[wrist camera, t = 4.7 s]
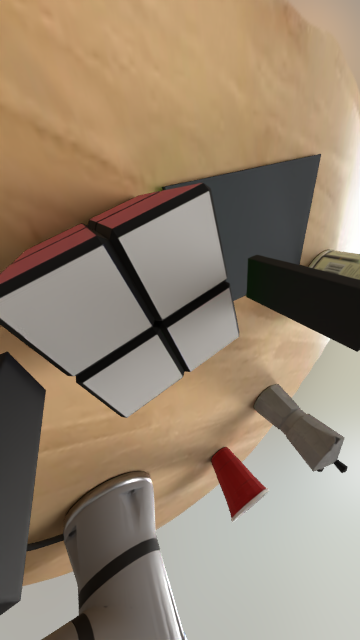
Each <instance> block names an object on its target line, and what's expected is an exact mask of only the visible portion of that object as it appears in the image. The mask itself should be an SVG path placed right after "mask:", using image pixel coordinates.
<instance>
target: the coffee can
mask: <svg viewBox="0 0 360 640" xmlns="http://www.w3.org/2000/svg"><path fill="white" fill-rule="evenodd" d="M309 267H310V268H314V269H318V270H322V271H326V272H330V273H335V274H339V275H343V276H347V277H351V278H355V279H359V280H360V254H354V253H347V252H340V251H334V250H326V251H324V252H322V253H321V254H319V255H318V256H317V257H316V258H315V259H314V260H313V262H312V263H311V264H310V265H309Z"/></svg>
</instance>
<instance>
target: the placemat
mask: <svg viewBox="0 0 360 640" xmlns="http://www.w3.org/2000/svg"><path fill="white" fill-rule="evenodd" d="M320 157H321V154H318V155H313V156H309V157H304V158H299V159H294V160H289V161H285V162H280V163H275V164H270V165H266V166H261V167H256V168H251V169H246V170H242V171H237V172H232V173H227V174H223V175H218V176H213V177H208V178H203V179H199V180H194V181H189V182H184V183H180V184H175V185H170V186H165V187H162V189H163V190H168V189H173V188H179V187H184V186H189V185H194V184H199V183H204V184H206V185H207V186H209V187H210V188H211V192H212V197H213V202H214V207H215V212H216V217H217V222H218V227H219V232H220V237H221V243H222V248H223V253H224V258H225V263H226V268H227V273H228V275H227V279H226V280H225V281H226V282H228V283H230V287H231V292H232V297H233V301H234V300H237V299H239V298H241V297H243V296H245V295H246V294H247V270H248V258H250V257H252V256H255V255H261V256H265V257H269V258H273V259H277V260H281V261H285V262H289V263H294V264H298V265H299V264H300V259H301V254H302V249H303V244H304V239H305V234H306V229H307V223H308V218H309V213H310V208H311V203H312V198H313V193H314V188H315V183H316V177H317V172H318V167H319V162H320Z"/></svg>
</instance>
